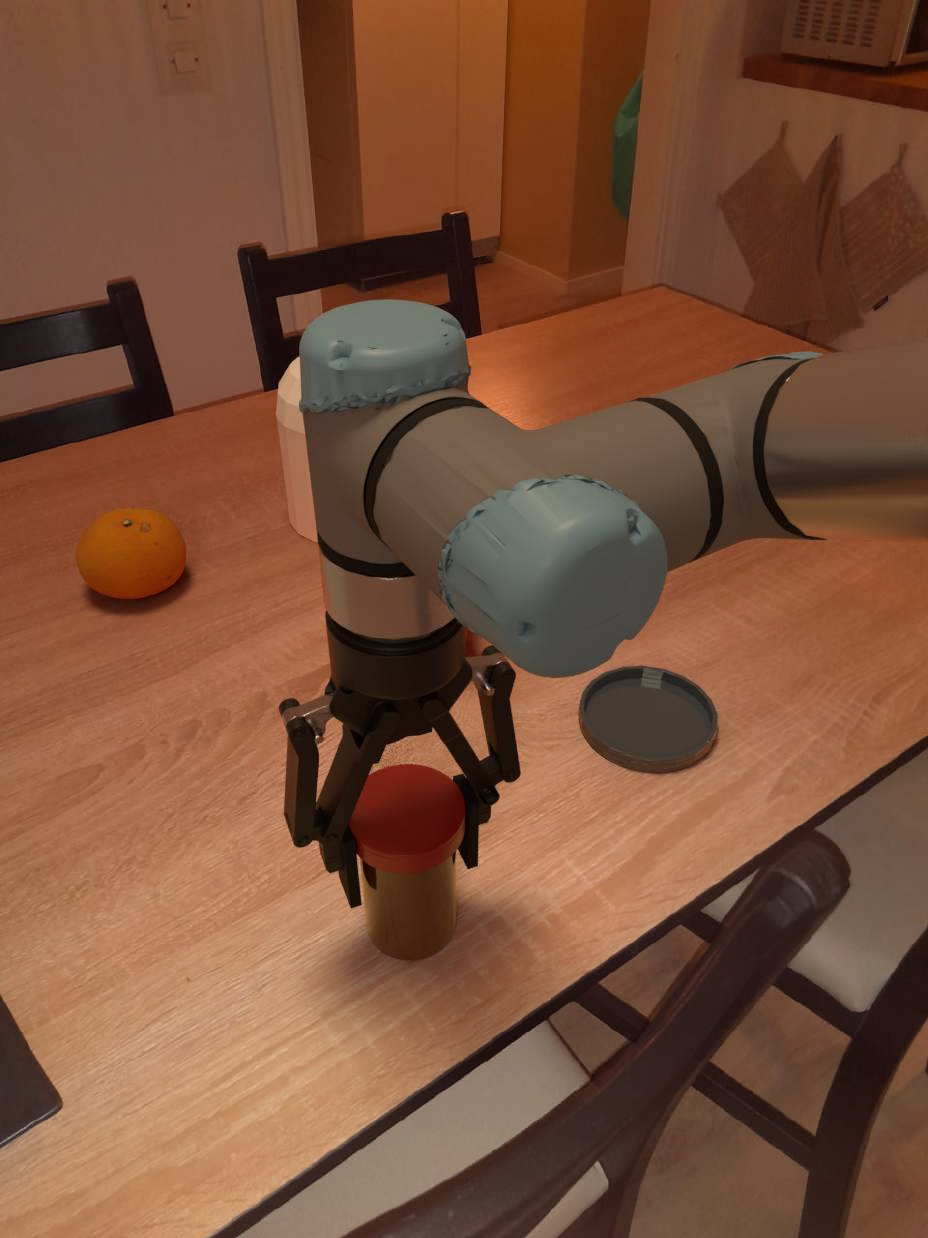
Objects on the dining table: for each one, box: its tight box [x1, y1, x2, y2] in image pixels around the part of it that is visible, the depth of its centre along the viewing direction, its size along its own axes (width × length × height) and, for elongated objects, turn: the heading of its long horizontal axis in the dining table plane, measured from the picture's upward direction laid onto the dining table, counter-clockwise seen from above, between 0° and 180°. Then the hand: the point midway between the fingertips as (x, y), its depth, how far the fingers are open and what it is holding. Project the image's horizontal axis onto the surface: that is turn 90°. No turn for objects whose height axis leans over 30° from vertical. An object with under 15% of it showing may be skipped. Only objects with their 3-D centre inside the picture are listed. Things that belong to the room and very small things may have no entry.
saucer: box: [577, 665, 719, 774], centre depth 84 cm, size 12×12×2 cm
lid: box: [348, 763, 465, 874], centre depth 62 cm, size 8×8×2 cm
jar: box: [359, 850, 457, 961], centre depth 65 cm, size 6×6×12 cm
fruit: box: [75, 507, 187, 600], centre depth 98 cm, size 10×10×8 cm
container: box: [275, 355, 318, 543], centre depth 106 cm, size 14×13×20 cm
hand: (408, 871), depth 65 cm, fingers closed on lid, 8 cm apart
